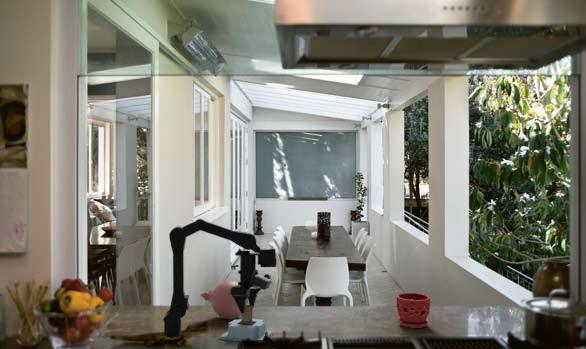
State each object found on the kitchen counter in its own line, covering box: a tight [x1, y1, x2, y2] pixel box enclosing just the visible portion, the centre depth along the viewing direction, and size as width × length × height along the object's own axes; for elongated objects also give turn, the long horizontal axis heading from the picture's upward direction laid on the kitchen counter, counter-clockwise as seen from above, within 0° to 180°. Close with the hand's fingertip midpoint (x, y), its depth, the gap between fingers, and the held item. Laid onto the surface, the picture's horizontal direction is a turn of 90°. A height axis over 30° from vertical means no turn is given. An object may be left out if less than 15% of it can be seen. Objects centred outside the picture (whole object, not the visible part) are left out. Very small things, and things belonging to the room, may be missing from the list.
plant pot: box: [395, 292, 431, 329], centre depth 202 cm, size 13×13×12 cm
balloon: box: [199, 280, 249, 320], centre depth 211 cm, size 15×20×15 cm
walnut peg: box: [240, 304, 254, 326], centre depth 184 cm, size 4×4×10 cm
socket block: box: [219, 318, 274, 342], centre depth 184 cm, size 12×16×5 cm
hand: (247, 310), depth 185 cm, fingers open, 9 cm apart
